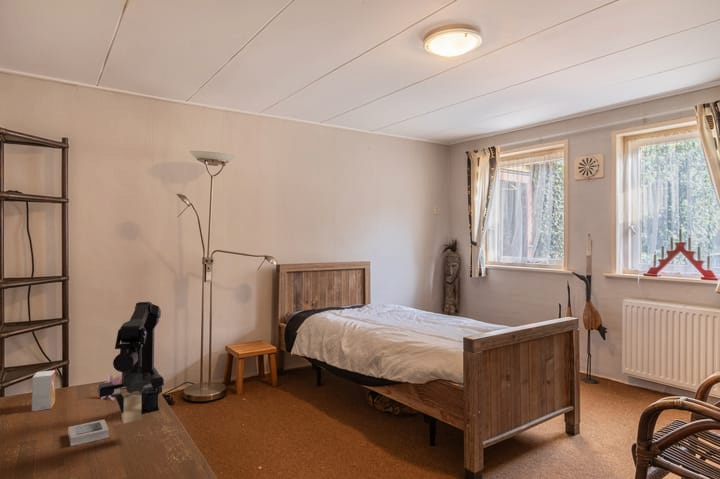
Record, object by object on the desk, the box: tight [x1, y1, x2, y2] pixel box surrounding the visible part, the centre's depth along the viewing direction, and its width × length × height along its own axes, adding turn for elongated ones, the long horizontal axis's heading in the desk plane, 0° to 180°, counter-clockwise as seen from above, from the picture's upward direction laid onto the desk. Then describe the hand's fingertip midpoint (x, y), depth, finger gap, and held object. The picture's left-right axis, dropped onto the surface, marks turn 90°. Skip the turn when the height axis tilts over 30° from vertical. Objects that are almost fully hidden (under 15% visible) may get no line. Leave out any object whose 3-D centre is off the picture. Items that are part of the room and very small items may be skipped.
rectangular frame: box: [67, 419, 110, 447], centre depth 146 cm, size 10×10×2 cm
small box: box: [31, 369, 56, 412], centre depth 172 cm, size 8×6×13 cm
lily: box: [96, 373, 122, 401], centre depth 183 cm, size 11×11×9 cm
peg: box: [121, 391, 142, 424], centre depth 144 cm, size 5×5×8 cm
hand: (131, 411), depth 144 cm, fingers closed on peg, 5 cm apart
